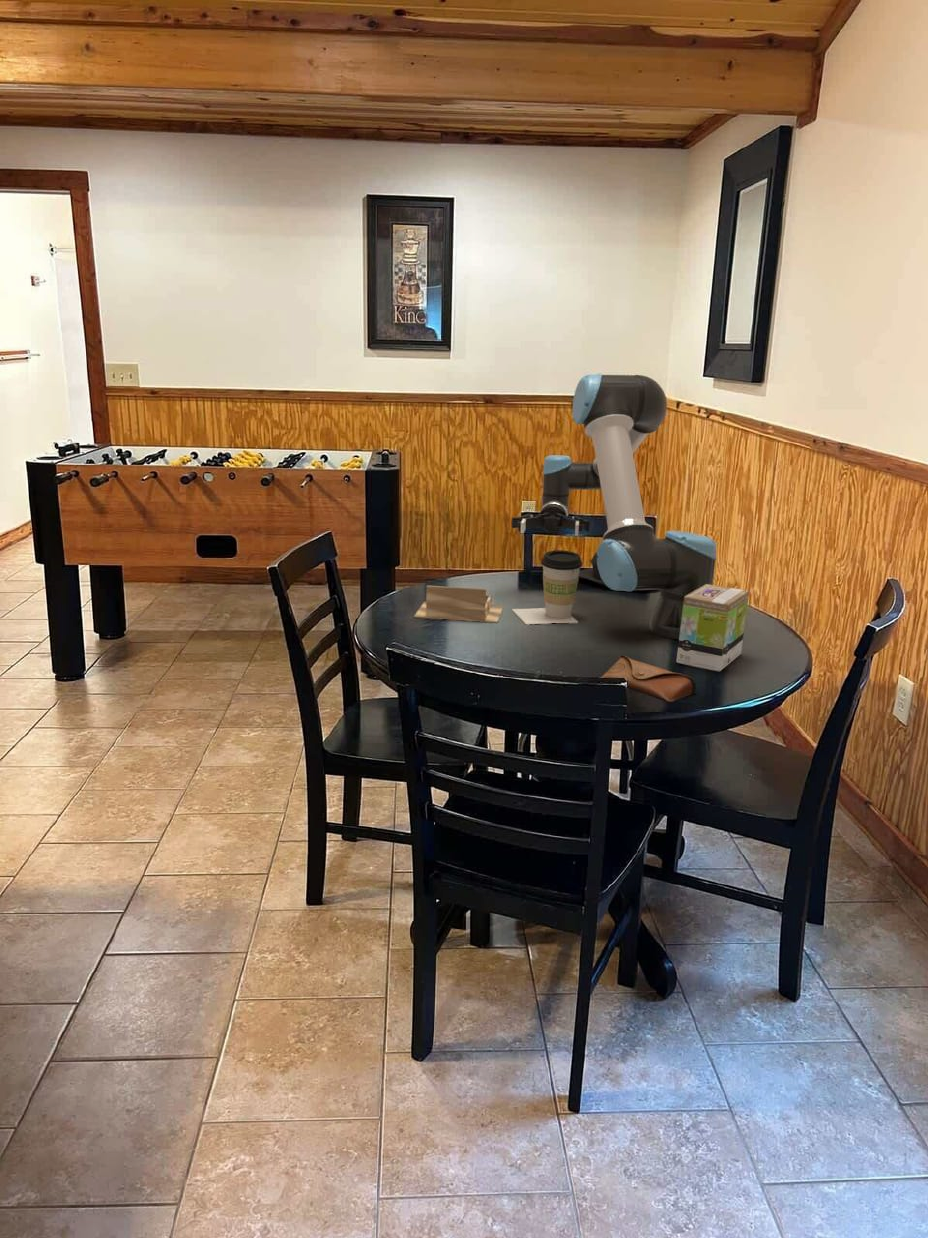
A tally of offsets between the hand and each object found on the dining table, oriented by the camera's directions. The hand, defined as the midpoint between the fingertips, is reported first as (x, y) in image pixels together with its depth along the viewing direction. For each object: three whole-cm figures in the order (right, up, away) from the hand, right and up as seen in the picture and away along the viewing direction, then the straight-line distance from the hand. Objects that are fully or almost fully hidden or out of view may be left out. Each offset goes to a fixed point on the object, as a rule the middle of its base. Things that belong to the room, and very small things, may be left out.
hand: (549, 529), depth 230 cm
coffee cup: (+2, -21, -4) cm, 22 cm away
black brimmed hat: (+22, -13, +30) cm, 40 cm away
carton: (-22, -20, -2) cm, 30 cm away
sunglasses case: (+14, -36, -50) cm, 63 cm away
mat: (-2, -22, -5) cm, 22 cm away
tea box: (+31, -31, -33) cm, 55 cm away
